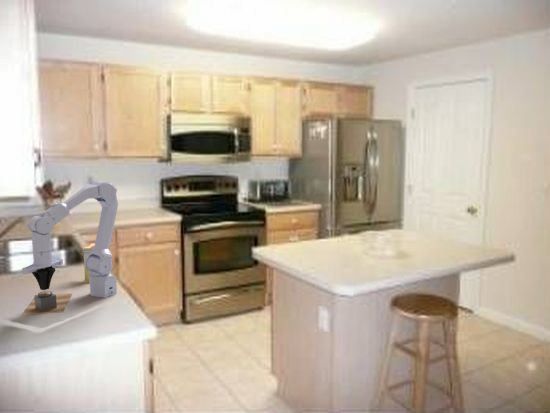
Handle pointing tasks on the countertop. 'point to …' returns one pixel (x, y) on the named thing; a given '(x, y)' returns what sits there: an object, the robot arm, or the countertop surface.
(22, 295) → the countertop surface
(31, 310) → the parts board
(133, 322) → the countertop surface
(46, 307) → the knob
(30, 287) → the countertop surface
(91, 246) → the candy box
